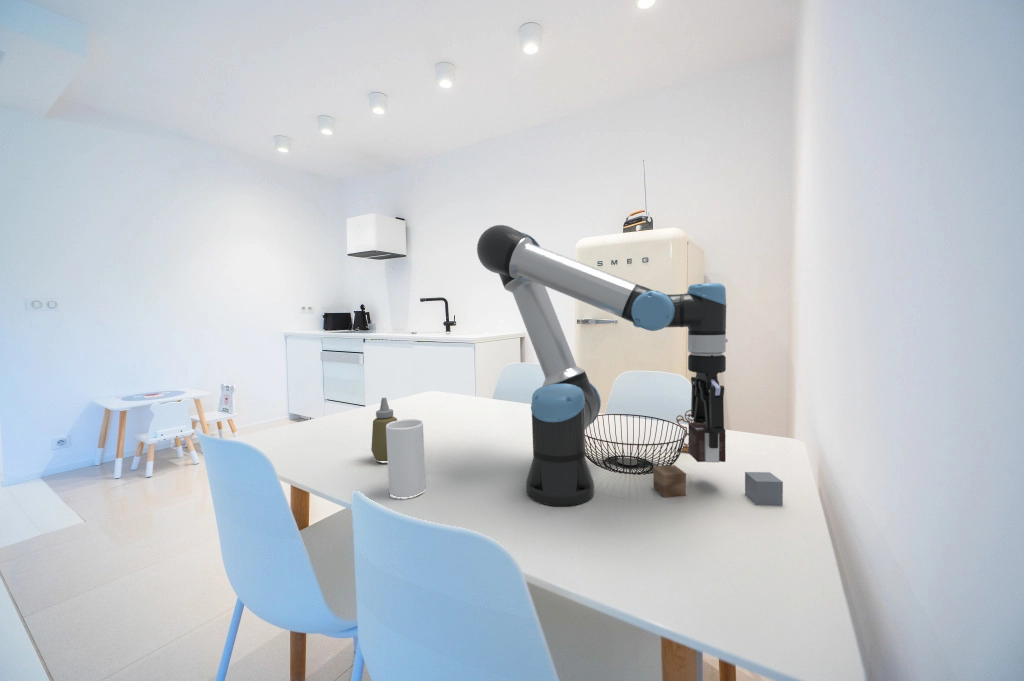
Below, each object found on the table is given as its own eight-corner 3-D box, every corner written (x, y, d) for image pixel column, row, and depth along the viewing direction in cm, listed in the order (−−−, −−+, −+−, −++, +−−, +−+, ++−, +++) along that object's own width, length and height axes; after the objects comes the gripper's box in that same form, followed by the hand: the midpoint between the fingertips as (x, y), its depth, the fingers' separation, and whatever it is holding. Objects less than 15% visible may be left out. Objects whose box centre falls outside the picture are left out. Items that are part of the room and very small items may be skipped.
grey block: (756, 505, 82) (756, 481, 82) (745, 494, 87) (745, 471, 87) (782, 506, 81) (782, 481, 81) (769, 495, 86) (770, 472, 86)
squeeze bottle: (396, 465, 111) (393, 400, 110) (367, 466, 111) (364, 401, 110) (405, 455, 119) (402, 394, 118) (377, 456, 119) (374, 395, 118)
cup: (432, 487, 96) (430, 420, 95) (410, 502, 88) (407, 429, 87) (405, 482, 99) (402, 418, 98) (381, 496, 92) (377, 426, 91)
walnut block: (663, 497, 87) (663, 475, 86) (653, 488, 92) (653, 466, 91) (686, 496, 87) (685, 473, 87) (674, 486, 92) (674, 465, 92)
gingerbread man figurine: (709, 451, 114) (709, 409, 113) (708, 456, 110) (708, 412, 110) (676, 447, 118) (675, 407, 118) (674, 451, 115) (673, 410, 114)
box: (715, 453, 94) (715, 422, 93) (726, 462, 88) (726, 429, 87) (687, 453, 94) (687, 422, 94) (697, 462, 88) (697, 429, 88)
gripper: (743, 358, 80) (742, 473, 81) (708, 350, 98) (708, 443, 100) (703, 358, 80) (703, 472, 82) (676, 350, 99) (676, 442, 101)
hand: (706, 456), depth 91 cm, fingers closed on box, 6 cm apart
